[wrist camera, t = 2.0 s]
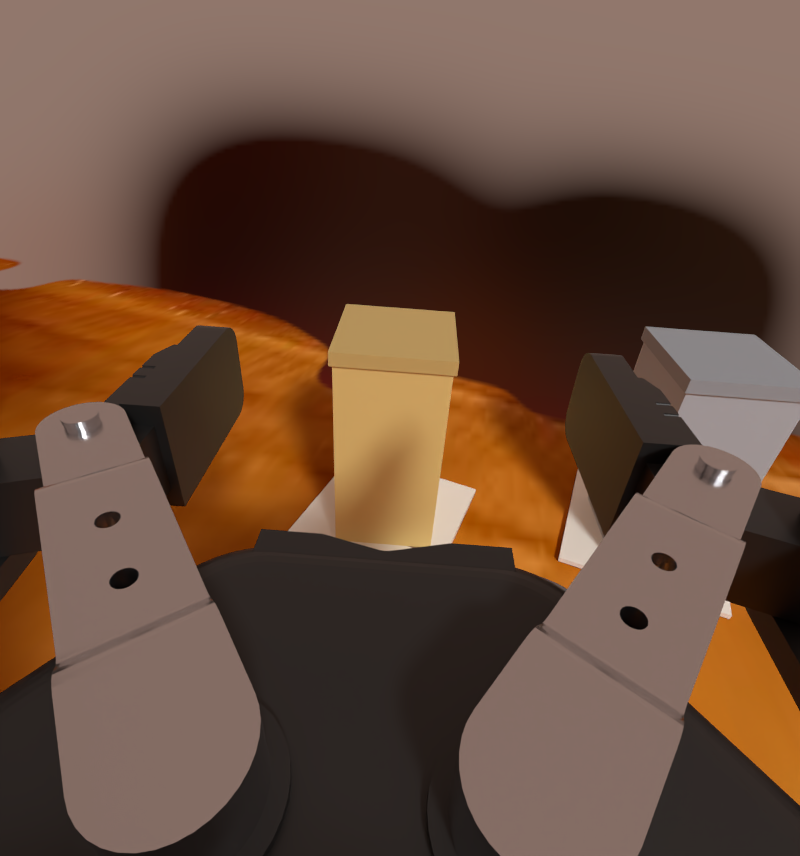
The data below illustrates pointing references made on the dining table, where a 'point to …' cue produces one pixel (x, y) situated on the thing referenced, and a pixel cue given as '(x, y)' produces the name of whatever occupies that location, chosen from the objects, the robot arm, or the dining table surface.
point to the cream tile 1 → (446, 524)
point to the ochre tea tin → (390, 420)
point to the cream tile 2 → (588, 533)
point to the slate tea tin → (724, 390)
